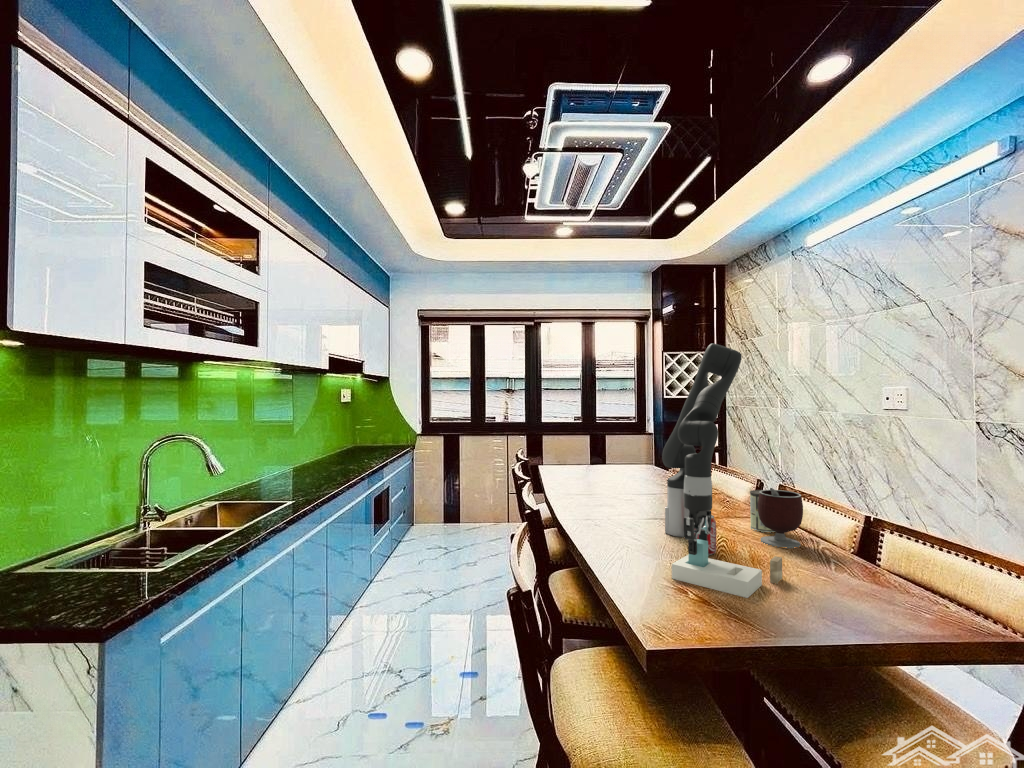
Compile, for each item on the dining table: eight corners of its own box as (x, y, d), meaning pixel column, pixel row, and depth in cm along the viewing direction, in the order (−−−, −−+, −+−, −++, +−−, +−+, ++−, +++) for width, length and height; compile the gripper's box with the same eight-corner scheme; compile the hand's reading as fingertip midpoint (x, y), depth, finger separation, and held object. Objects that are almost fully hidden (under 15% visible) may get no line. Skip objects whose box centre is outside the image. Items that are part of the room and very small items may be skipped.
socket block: (671, 578, 141) (671, 564, 141) (689, 567, 150) (689, 553, 150) (747, 598, 128) (747, 582, 128) (761, 584, 137) (761, 569, 137)
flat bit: (770, 582, 139) (769, 560, 139) (775, 577, 143) (775, 556, 143) (777, 584, 138) (777, 561, 138) (782, 579, 141) (782, 557, 141)
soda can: (716, 551, 166) (716, 514, 166) (715, 557, 160) (715, 519, 160) (694, 548, 169) (694, 512, 169) (691, 554, 163) (691, 516, 163)
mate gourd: (766, 535, 186) (765, 480, 186) (808, 543, 176) (808, 485, 176) (749, 543, 175) (749, 485, 175) (794, 552, 165) (793, 490, 165)
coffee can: (771, 526, 198) (771, 489, 198) (785, 533, 188) (785, 495, 188) (745, 525, 198) (745, 489, 199) (757, 533, 188) (757, 494, 188)
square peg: (688, 577, 142) (688, 541, 143) (694, 573, 145) (694, 538, 146) (702, 580, 140) (702, 544, 140) (708, 576, 143) (708, 541, 143)
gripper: (694, 486, 151) (694, 542, 150) (674, 493, 140) (674, 554, 140) (720, 490, 146) (720, 548, 145) (701, 497, 135) (701, 560, 135)
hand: (697, 550), depth 143 cm, fingers open, 7 cm apart
